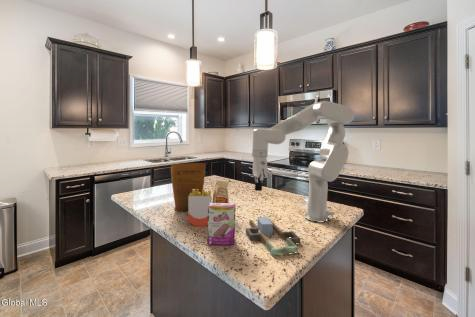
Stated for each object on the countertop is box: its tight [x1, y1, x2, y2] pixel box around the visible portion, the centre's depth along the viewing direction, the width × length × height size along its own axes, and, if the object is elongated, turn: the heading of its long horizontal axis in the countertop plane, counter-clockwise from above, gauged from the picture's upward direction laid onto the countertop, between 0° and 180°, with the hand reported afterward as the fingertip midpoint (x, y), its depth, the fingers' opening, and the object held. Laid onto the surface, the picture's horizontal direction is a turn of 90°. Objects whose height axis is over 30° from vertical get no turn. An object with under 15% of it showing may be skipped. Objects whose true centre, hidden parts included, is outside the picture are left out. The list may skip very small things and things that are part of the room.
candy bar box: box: [206, 202, 237, 246], centre depth 99 cm, size 11×5×16 cm, turn 92°
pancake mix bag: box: [170, 162, 206, 213], centre depth 138 cm, size 7×19×28 cm, turn 96°
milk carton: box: [212, 179, 230, 203], centre depth 131 cm, size 9×9×20 cm
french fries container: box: [187, 188, 213, 227], centre depth 118 cm, size 5×11×18 cm, turn 91°
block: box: [256, 216, 274, 236], centre depth 113 cm, size 5×9×5 cm, turn 7°
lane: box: [245, 219, 301, 257], centre depth 106 cm, size 19×31×2 cm, turn 13°
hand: (258, 190), depth 121 cm, fingers closed
